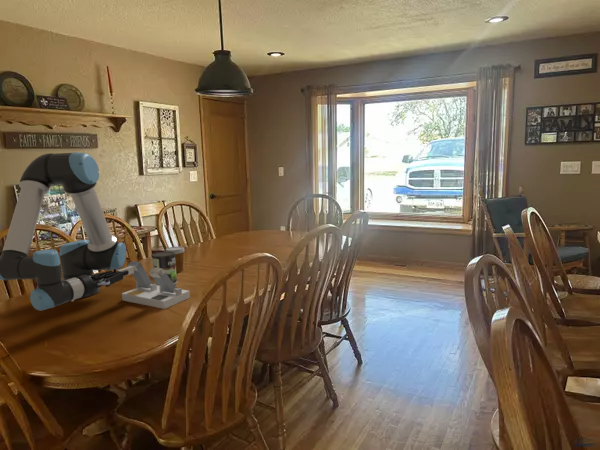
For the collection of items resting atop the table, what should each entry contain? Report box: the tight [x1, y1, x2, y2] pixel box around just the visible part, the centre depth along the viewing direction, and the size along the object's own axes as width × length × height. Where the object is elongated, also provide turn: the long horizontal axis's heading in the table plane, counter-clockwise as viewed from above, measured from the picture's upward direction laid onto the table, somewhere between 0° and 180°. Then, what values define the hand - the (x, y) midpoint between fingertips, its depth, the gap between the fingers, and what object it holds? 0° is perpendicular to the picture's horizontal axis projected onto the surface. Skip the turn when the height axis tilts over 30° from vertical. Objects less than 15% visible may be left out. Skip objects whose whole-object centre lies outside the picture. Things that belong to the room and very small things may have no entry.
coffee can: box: [151, 251, 178, 286], centre depth 200 cm, size 10×10×14 cm
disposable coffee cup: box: [164, 245, 185, 274], centre depth 220 cm, size 10×10×12 cm
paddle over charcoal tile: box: [148, 266, 178, 293], centre depth 173 cm, size 7×3×13 cm
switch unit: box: [121, 282, 191, 310], centre depth 179 cm, size 24×14×5 cm, turn 61°
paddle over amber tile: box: [126, 260, 154, 288], centre depth 180 cm, size 7×3×13 cm, turn 61°
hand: (132, 269), depth 176 cm, fingers closed
